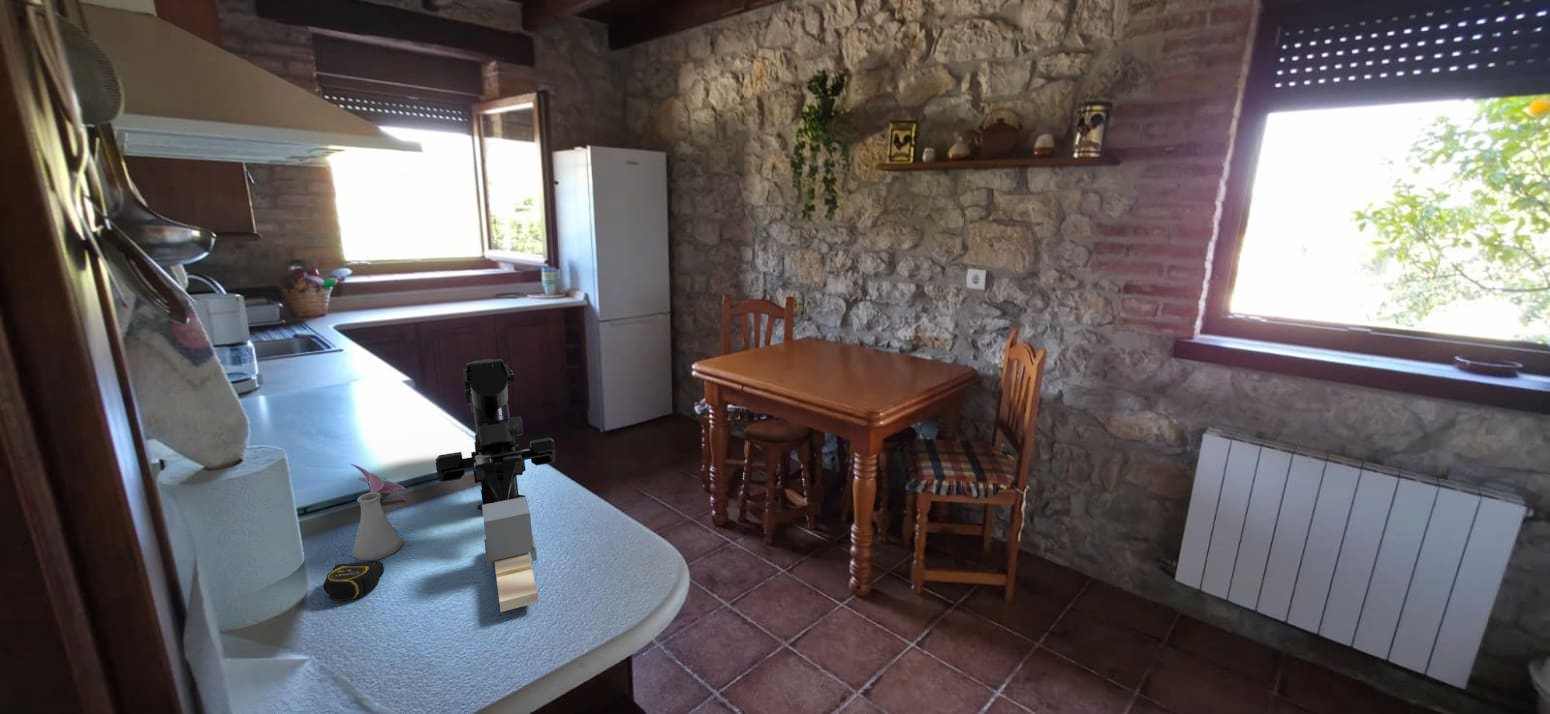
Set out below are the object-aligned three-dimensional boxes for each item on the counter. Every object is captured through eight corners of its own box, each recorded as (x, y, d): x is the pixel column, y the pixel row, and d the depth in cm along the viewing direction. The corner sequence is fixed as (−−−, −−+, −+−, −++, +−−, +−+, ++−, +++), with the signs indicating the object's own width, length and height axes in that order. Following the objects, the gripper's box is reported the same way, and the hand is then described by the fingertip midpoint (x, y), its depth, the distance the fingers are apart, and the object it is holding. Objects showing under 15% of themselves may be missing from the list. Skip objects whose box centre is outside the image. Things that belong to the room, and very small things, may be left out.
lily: (409, 518, 119) (420, 471, 122) (342, 513, 113) (355, 463, 115) (396, 514, 128) (407, 470, 130) (333, 510, 121) (345, 463, 123)
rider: (486, 552, 104) (479, 505, 101) (532, 542, 107) (527, 496, 104) (487, 571, 98) (481, 522, 96) (536, 560, 101) (531, 512, 99)
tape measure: (388, 576, 100) (384, 555, 99) (369, 603, 94) (365, 581, 93) (340, 581, 99) (336, 559, 98) (318, 608, 93) (313, 586, 92)
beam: (493, 550, 107) (491, 534, 106) (524, 543, 109) (523, 527, 108) (501, 621, 90) (499, 602, 89) (539, 611, 92) (537, 592, 91)
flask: (379, 564, 103) (370, 509, 101) (342, 559, 105) (331, 504, 102) (412, 541, 110) (404, 488, 107) (377, 536, 111) (368, 484, 109)
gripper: (428, 410, 103) (436, 501, 96) (549, 394, 111) (564, 477, 104) (435, 438, 111) (443, 524, 105) (547, 422, 119) (561, 500, 113)
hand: (504, 505), depth 106 cm, fingers closed
